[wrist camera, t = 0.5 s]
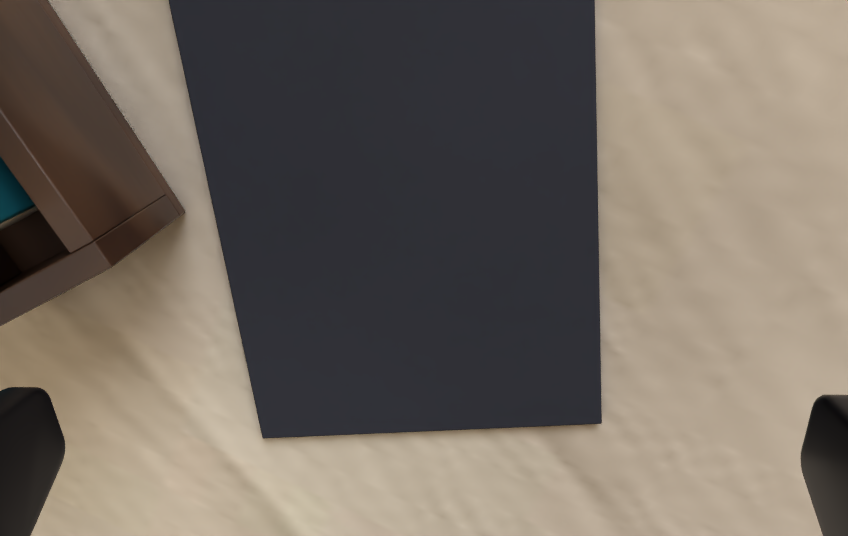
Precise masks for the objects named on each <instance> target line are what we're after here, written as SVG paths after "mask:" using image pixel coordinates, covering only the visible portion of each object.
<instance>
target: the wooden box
mask: <svg viewBox="0 0 848 536" xmlns="http://www.w3.org/2000/svg"><path fill="white" fill-rule="evenodd" d="M0 157H1V158H2V160H3V161H4V162H5V164H6V165H7V167H8V168H9V169H10V171H11V172H12V173H13V175H14V176H15V178H16V179H17V180H18V182H19V183H20V185H21V186H22V187H23V189H24V190H25V191H26V193H27V194H28V196H29V197H30V198H31V200H32V201H33V203H34V204H35V205H36V207H37V208H38V209H39V210H38V211H36V212H34V213H33V214H31V215H29V216H27V217H26V218H24V219H22V220H20V221H18V222H16V223H14V224H12V225H10V226H8V227H6V228H4V229H2V230H0V326H2V325H4V324H5V323H7V322H9V321H11V320H13V319H15V318H17V317H19V316H21V315H23V314H24V313H26V312H28V311H30V310H32V309H34V308H36V307H38V306H40V305H42V304H43V303H45V302H47V301H49V300H51V299H53V298H55V297H57V296H59V295H60V294H62V293H64V292H66V291H68V290H70V289H72V288H74V287H76V286H78V285H79V284H81V283H83V282H85V281H87V280H89V279H91V278H93V277H95V276H97V275H98V274H100V273H102V272H104V271H106V270H108V269H110V268H112V267H113V266H114V265H116V264H117V263H118V262H120V261H121V260H122V259H124V258H125V257H126V256H128V255H129V254H130V253H132V252H133V251H134V250H136V249H137V248H138V247H140V246H141V245H142V244H144V243H145V242H146V241H148V240H149V239H150V238H152V237H153V236H154V235H156V234H157V233H158V232H160V231H161V230H162V229H164V228H165V227H166V226H168V225H169V224H170V223H172V222H173V221H174V220H176V219H177V218H178V217H179V216H181V215H182V214H184V213H185V210H184V208H183V207H182V205H181V204H180V202H179V201H178V199H177V198H176V196H175V195H174V193H173V192H172V190H171V189H170V187H169V186H168V184H167V182H166V181H165V179H164V178H163V176H162V175H161V173H160V172H159V170H158V169H157V167H156V166H155V164H154V163H153V161H152V160H151V158H150V156H149V155H148V153H147V152H146V150H145V149H144V147H143V146H142V144H141V143H140V141H139V140H138V138H137V137H136V135H135V134H134V132H133V130H132V129H131V127H130V126H129V124H128V123H127V121H126V120H125V118H124V117H123V115H122V114H121V112H120V111H119V109H118V108H117V106H116V104H115V103H114V101H113V100H112V98H111V97H110V95H109V94H108V92H107V91H106V89H105V88H104V86H103V85H102V83H101V82H100V80H99V78H98V77H97V75H96V74H95V72H94V71H93V69H92V68H91V66H90V65H89V63H88V62H87V60H86V59H85V57H84V56H83V54H82V52H81V51H80V49H79V48H78V46H77V45H76V43H75V42H74V40H73V39H72V37H71V36H70V34H69V33H68V31H67V30H66V28H65V27H64V25H63V23H62V22H61V20H60V19H59V17H58V16H57V14H56V13H55V11H54V10H53V8H52V7H51V5H50V4H49V2H48V1H47V0H0Z"/></svg>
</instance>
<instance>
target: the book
mask: <svg viewBox="0 0 848 536" xmlns="http://www.w3.org/2000/svg"><path fill="white" fill-rule="evenodd" d="M38 210H39V209H38V208H37V207H36V205H35V204H34V203H33V201H32V200H31V198H30V197H29V196H28V194H27V193H26V191H25V190H24V189H23V187H22V186H21V185H20V183H19V182H18V180H17V179H16V178H15V176H14V175H13V173H12V172H11V171H10V169H9V168H8V167H7V165H6V164H5V162H4V161H3V160H2V158H1V157H0V230H2V229H4V228H6V227H8V226H10V225H12V224H14V223H16V222H18V221H20V220H22V219H24V218H26V217H27V216H29V215H31V214H33V213H34V212H36V211H38Z"/></svg>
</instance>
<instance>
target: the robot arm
mask: <svg viewBox="0 0 848 536" xmlns="http://www.w3.org/2000/svg"><path fill="white" fill-rule="evenodd" d="M64 454H65V440H64V436H63V434H62V431H61V428H60V425H59V422H58V419H57V416H56V413H55V411H54V408H53V405H52V402H51V399H50V397H49V395H48V394H47V392H46V391H45V390H43V389H41V388H37V387H11V388H6V389H4V390H2V391H0V536H31V533H32V531H33V529H34V526H35V524H36V522H37V519H38V517H39V515H40V513H41V510H42V508H43V506H44V503H45V501H46V499H47V496H48V494H49V492H50V489H51V487H52V485H53V482H54V480H55V478H56V476H57V473H58V471H59V469H60V466H61V464H62V461H63V458H64ZM801 468H802V473H803V476H804V479H805V482H806V485H807V488H808V491H809V494H810V497H811V500H812V504H813V507H814V510H815V513H816V516H817V519H818V522H819V525H820V528H821V531H822V534H823V536H848V395H822V396H820V397H819V398H817V399H816V401H815V402H814V405H813V407H812V411H811V415H810V419H809V423H808V427H807V431H806V434H805V438H804V442H803V446H802V451H801Z"/></svg>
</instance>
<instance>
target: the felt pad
mask: <svg viewBox="0 0 848 536" xmlns="http://www.w3.org/2000/svg"><path fill="white" fill-rule="evenodd" d="M169 4H170V9H171V13H172V18H173V23H174V27H175V32H176V37H177V41H178V46H179V50H180V55H181V60H182V64H183V69H184V74H185V78H186V83H187V88H188V92H189V97H190V102H191V106H192V111H193V116H194V120H195V125H196V130H197V134H198V139H199V144H200V148H201V153H202V157H203V162H204V167H205V171H206V176H207V181H208V185H209V190H210V195H211V199H212V204H213V209H214V213H215V218H216V223H217V227H218V232H219V237H220V241H221V246H222V251H223V255H224V260H225V264H226V269H227V274H228V278H229V283H230V288H231V292H232V297H233V302H234V306H235V311H236V316H237V320H238V325H239V330H240V334H241V339H242V344H243V348H244V353H245V358H246V362H247V367H248V372H249V376H250V381H251V385H252V390H253V395H254V399H255V404H256V409H257V413H258V418H259V423H260V427H261V432H262V437H263V438H281V437H304V436H328V435H351V434H374V433H397V432H420V431H443V430H466V429H490V428H513V427H536V426H559V425H582V424H601V423H602V420H601V360H600V300H599V241H598V181H597V121H596V62H595V2H594V0H169Z"/></svg>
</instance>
